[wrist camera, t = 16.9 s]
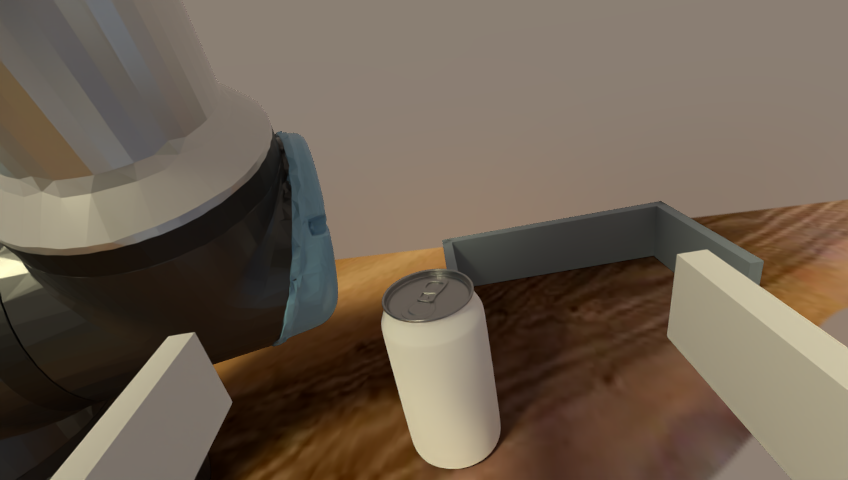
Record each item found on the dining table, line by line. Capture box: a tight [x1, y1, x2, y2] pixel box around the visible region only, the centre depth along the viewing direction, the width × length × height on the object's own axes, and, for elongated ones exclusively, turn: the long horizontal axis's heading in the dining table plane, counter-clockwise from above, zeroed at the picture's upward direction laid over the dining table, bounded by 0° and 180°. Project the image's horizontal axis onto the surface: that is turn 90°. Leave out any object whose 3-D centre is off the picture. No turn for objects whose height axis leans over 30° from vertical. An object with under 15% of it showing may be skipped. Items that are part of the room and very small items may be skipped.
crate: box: [442, 201, 764, 286], centre depth 39 cm, size 14×24×6 cm, turn 92°
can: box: [381, 269, 501, 469], centre depth 27 cm, size 6×6×12 cm
